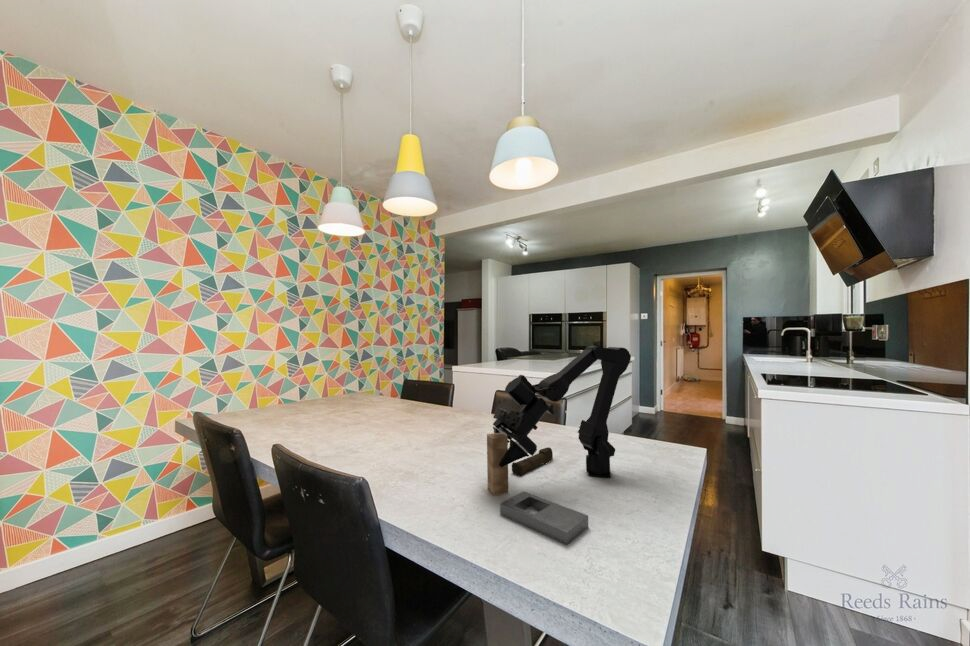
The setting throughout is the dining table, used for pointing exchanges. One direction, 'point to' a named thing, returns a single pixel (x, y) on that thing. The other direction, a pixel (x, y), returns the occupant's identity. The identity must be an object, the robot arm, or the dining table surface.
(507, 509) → the grey slotted base plate
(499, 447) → the walnut post
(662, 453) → the dining table surface
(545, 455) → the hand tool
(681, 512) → the dining table surface
